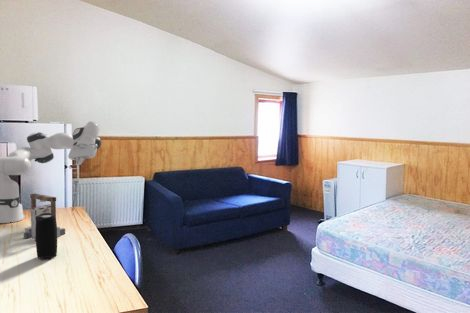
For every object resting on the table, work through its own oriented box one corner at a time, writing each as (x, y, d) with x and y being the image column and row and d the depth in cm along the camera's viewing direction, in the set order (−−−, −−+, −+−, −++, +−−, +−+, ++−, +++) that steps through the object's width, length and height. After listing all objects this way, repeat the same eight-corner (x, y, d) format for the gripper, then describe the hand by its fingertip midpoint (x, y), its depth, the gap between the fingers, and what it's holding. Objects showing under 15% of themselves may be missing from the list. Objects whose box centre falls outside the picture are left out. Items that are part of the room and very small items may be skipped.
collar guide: (22, 238, 188) (21, 228, 188) (50, 230, 202) (50, 221, 202) (38, 242, 182) (38, 233, 181) (66, 234, 196) (66, 225, 195)
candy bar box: (50, 233, 197) (50, 203, 196) (56, 234, 195) (55, 204, 194) (30, 238, 188) (29, 207, 186) (36, 240, 185) (35, 209, 184)
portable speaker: (37, 262, 157) (35, 218, 155) (35, 255, 165) (34, 213, 163) (58, 258, 161) (57, 216, 160) (56, 252, 169) (55, 211, 168)
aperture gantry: (31, 234, 195) (29, 194, 193) (36, 233, 197) (34, 193, 195) (52, 240, 186) (51, 198, 184) (57, 238, 189) (56, 197, 187)
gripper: (101, 145, 221) (94, 165, 215) (78, 149, 230) (70, 168, 224) (94, 140, 217) (86, 160, 210) (71, 143, 226) (62, 163, 219)
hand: (78, 164), depth 217 cm, fingers closed
